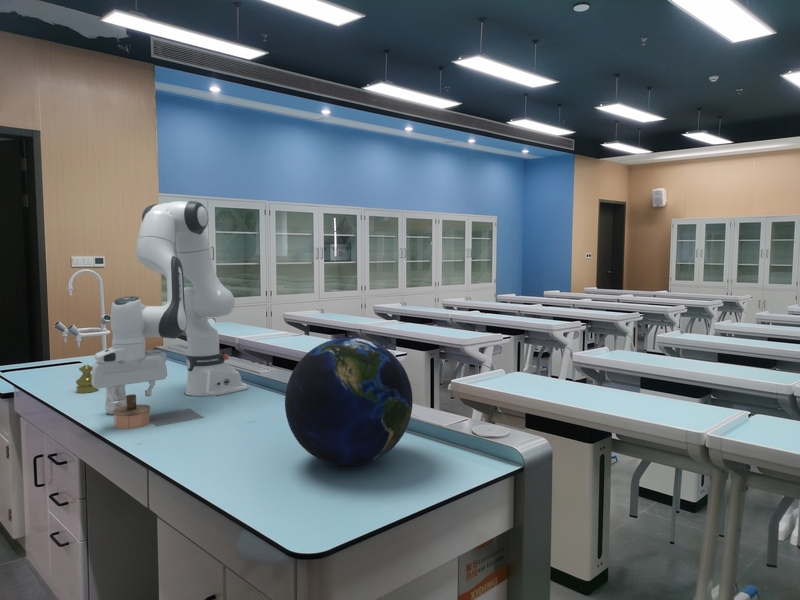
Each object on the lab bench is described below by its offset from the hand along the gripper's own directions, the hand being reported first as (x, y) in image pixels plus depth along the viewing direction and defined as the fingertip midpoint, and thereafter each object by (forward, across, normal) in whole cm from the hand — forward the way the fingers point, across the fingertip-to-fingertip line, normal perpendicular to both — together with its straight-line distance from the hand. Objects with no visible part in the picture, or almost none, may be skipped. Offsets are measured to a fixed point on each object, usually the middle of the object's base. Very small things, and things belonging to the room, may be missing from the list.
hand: (131, 398), depth 169 cm
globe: (+8, -33, +67) cm, 75 cm away
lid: (+4, 0, 0) cm, 4 cm away
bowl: (+8, 0, 0) cm, 8 cm away
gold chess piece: (+9, +2, -61) cm, 62 cm away
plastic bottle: (+8, +1, -17) cm, 19 cm away
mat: (+8, -12, 0) cm, 14 cm away
